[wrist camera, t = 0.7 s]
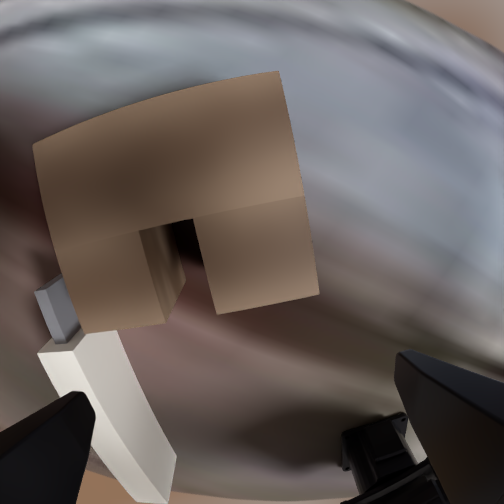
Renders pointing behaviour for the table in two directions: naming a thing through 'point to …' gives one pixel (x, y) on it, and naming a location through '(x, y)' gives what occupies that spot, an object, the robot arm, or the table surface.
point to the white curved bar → (107, 397)
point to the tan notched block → (179, 203)
